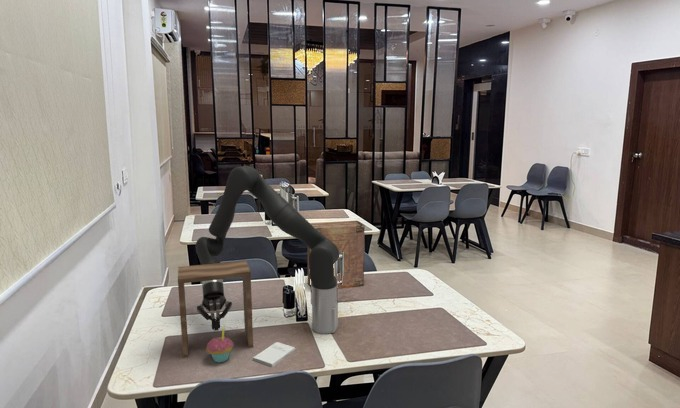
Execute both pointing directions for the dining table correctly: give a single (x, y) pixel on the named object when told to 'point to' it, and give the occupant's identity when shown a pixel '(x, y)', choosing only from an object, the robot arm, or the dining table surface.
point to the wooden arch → (215, 273)
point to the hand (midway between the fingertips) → (216, 329)
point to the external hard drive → (274, 354)
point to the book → (346, 249)
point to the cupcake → (220, 348)
